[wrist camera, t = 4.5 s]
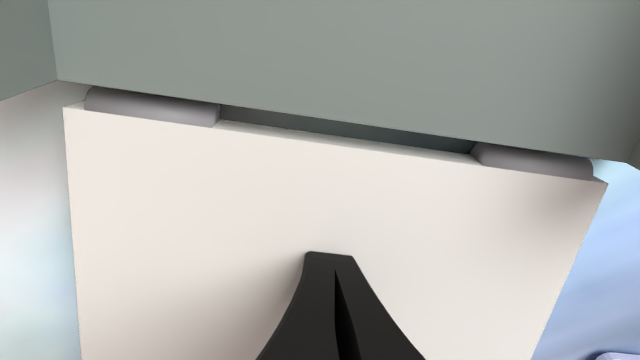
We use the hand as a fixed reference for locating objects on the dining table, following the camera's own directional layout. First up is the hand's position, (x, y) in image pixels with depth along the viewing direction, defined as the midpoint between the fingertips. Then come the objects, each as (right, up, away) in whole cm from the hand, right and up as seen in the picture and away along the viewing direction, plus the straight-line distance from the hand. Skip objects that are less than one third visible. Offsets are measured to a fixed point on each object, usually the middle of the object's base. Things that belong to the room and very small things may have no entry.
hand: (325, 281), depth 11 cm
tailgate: (0, +1, +1) cm, 1 cm away
